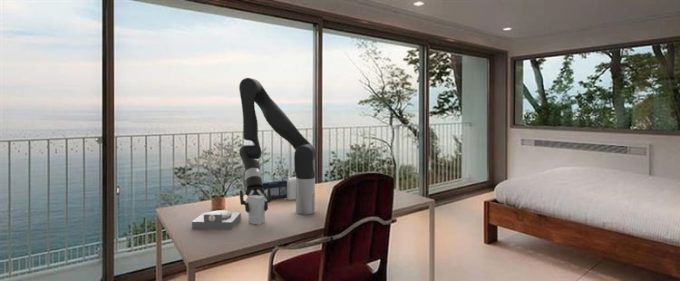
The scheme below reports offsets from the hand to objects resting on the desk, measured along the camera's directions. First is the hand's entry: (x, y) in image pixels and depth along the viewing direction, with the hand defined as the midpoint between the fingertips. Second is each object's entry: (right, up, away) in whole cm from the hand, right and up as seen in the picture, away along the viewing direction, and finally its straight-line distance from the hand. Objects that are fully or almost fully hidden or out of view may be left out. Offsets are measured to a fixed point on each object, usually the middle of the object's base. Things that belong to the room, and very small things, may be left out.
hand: (257, 211), depth 168 cm
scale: (-18, -6, 0) cm, 18 cm away
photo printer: (+12, -2, +45) cm, 46 cm away
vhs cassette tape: (-1, -2, +42) cm, 42 cm away
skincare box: (-1, -6, +2) cm, 6 cm away
